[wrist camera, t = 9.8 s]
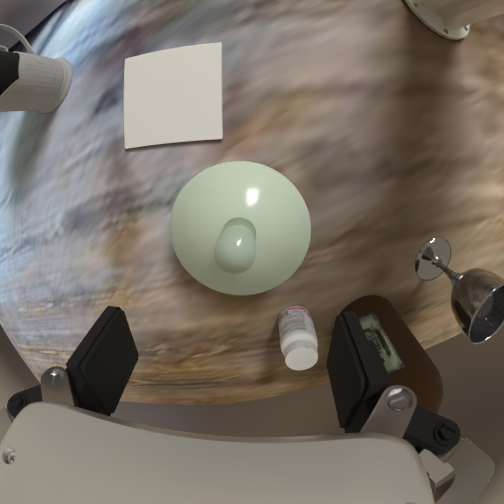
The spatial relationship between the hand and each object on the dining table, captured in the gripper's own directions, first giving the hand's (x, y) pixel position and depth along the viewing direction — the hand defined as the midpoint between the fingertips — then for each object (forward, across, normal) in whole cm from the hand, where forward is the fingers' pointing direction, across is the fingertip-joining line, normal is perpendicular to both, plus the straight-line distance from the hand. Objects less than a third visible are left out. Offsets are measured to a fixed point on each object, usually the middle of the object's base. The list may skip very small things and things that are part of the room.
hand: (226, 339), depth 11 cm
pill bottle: (+22, -6, +16) cm, 28 cm away
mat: (+22, +9, -14) cm, 28 cm away
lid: (+16, +1, +1) cm, 16 cm away
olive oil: (+23, -17, +17) cm, 33 cm away
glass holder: (+23, +29, -23) cm, 43 cm away
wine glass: (+23, -27, +7) cm, 36 cm away
